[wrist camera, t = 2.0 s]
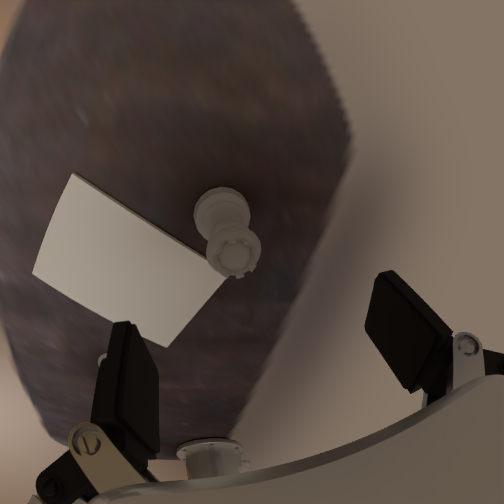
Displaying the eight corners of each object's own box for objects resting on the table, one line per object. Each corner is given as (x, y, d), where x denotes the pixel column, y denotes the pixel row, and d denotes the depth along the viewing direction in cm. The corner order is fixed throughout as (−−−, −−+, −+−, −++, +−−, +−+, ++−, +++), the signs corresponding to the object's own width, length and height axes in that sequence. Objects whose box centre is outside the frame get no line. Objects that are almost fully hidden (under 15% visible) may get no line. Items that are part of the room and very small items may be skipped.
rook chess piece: (247, 235, 24) (272, 289, 17) (194, 239, 23) (198, 296, 16) (248, 184, 22) (278, 219, 15) (192, 186, 21) (193, 224, 14)
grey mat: (228, 271, 25) (229, 274, 25) (166, 344, 28) (166, 347, 27) (74, 172, 18) (72, 173, 18) (34, 270, 21) (32, 273, 20)
